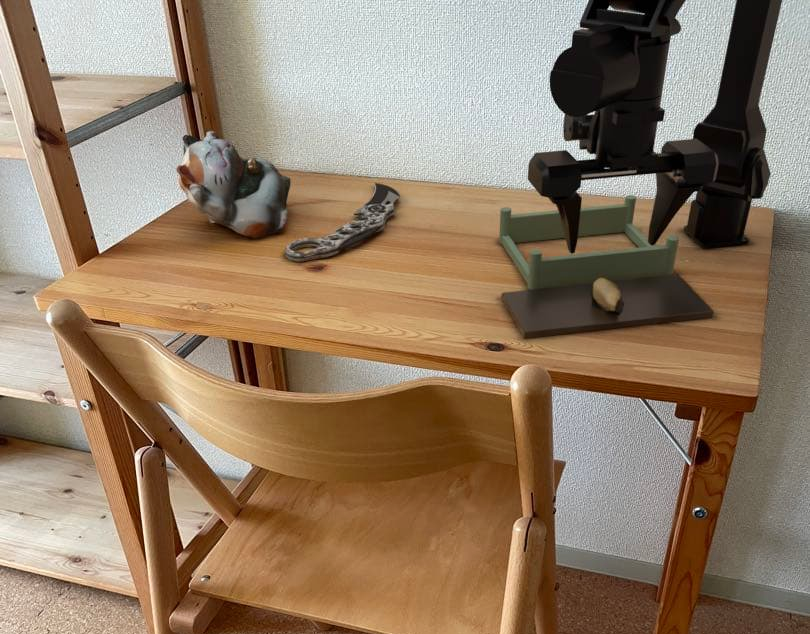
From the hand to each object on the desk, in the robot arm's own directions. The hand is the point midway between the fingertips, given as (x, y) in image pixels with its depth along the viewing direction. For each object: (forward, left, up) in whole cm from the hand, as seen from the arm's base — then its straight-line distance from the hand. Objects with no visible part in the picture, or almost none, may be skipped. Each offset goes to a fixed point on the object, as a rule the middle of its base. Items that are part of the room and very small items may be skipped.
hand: (611, 247), depth 94 cm
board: (0, 0, -7) cm, 7 cm away
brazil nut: (0, 0, -7) cm, 7 cm away
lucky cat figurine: (+41, -36, -7) cm, 55 cm away
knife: (+25, -32, -8) cm, 41 cm away
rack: (-2, -14, -7) cm, 16 cm away
